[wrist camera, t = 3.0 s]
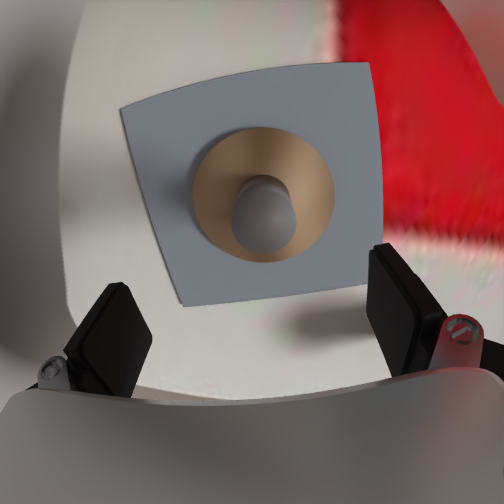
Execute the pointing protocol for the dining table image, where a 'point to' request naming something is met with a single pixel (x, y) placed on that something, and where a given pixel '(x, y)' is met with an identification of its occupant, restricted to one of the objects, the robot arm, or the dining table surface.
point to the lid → (263, 195)
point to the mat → (254, 116)
